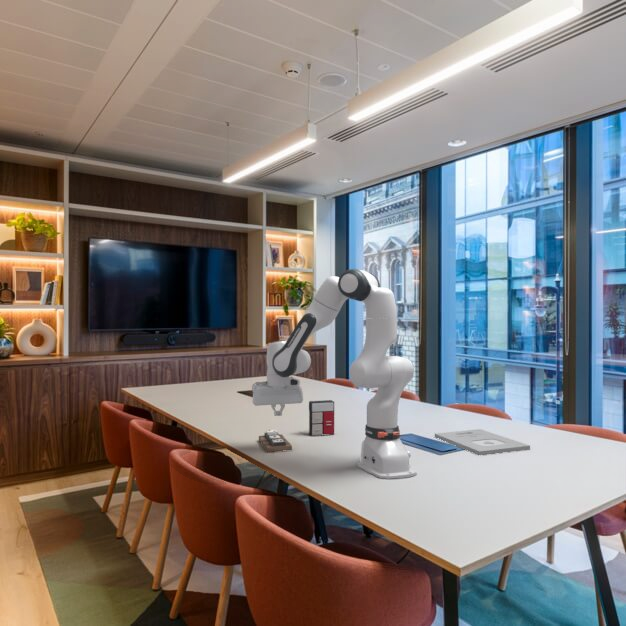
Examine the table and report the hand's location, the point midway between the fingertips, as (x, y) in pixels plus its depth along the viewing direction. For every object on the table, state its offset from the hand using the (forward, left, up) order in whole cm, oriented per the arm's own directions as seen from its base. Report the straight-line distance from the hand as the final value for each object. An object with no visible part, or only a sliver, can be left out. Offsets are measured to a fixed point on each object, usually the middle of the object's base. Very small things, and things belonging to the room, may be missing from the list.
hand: (278, 415), depth 198 cm
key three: (+1, 0, -12) cm, 12 cm away
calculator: (+19, -24, -14) cm, 33 cm away
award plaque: (-13, -84, -14) cm, 86 cm away
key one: (+7, 0, -12) cm, 13 cm away
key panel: (+7, 0, -14) cm, 15 cm away
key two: (+13, 0, -11) cm, 16 cm away
